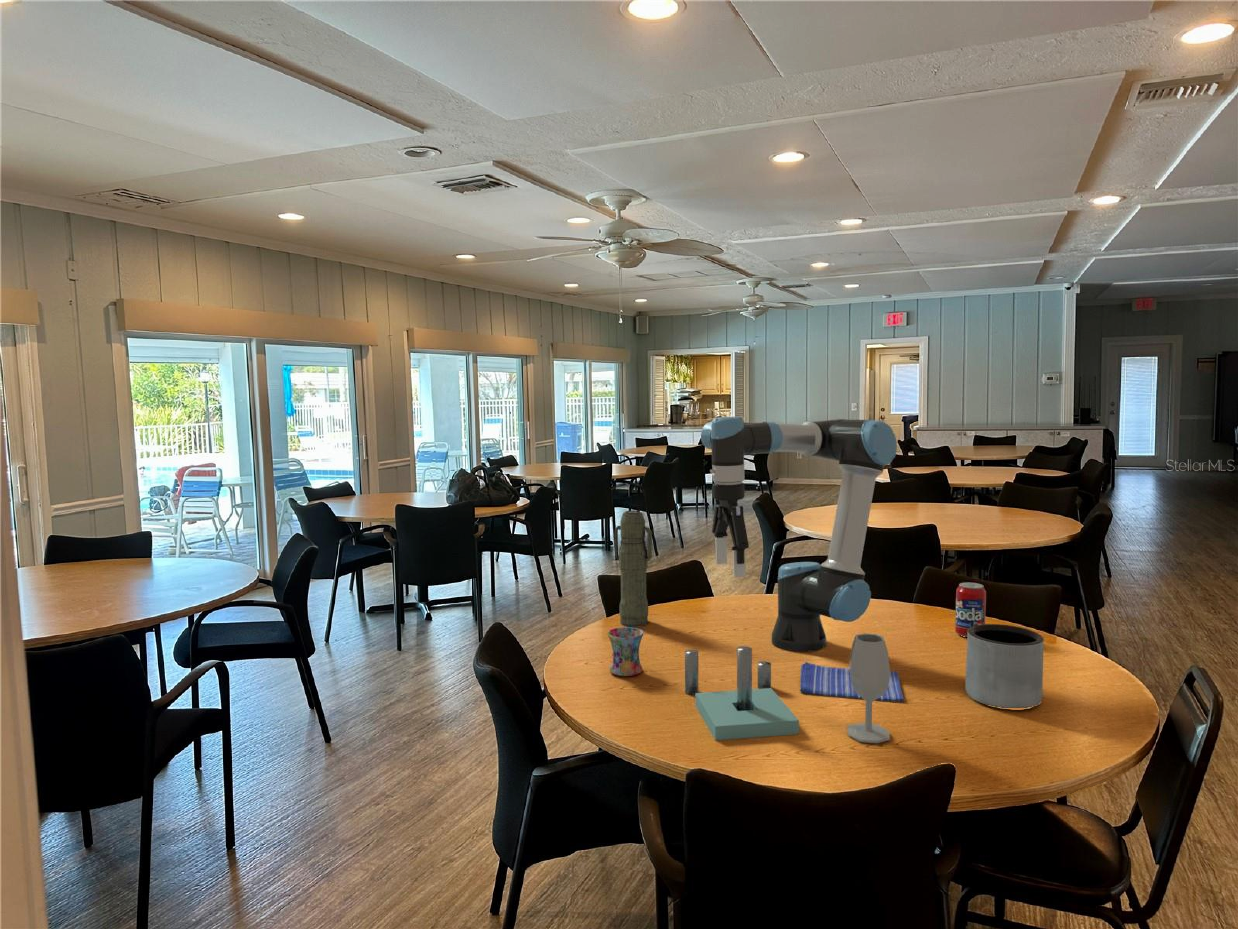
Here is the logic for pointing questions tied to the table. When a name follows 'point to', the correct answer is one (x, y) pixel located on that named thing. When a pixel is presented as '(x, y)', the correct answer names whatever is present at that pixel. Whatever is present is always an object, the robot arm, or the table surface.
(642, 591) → the thermos
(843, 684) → the dish towel
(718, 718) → the hole block
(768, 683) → the short pin
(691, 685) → the medium pin
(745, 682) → the long pin
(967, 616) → the soda can
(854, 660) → the wineglass
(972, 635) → the planter
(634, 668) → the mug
